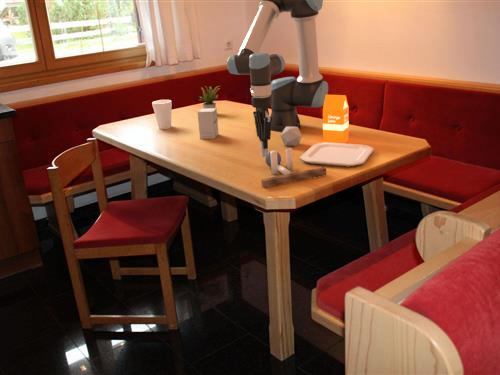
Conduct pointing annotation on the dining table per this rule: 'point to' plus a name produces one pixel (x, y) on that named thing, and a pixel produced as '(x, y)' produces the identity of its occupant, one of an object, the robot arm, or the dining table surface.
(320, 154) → the plate
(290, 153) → the pin
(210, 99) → the house plant
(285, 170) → the front pin
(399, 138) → the dining table surface
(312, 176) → the board
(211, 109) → the supplement box
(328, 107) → the orange juice
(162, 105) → the foam cup
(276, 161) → the pin
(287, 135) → the die
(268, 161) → the ball
